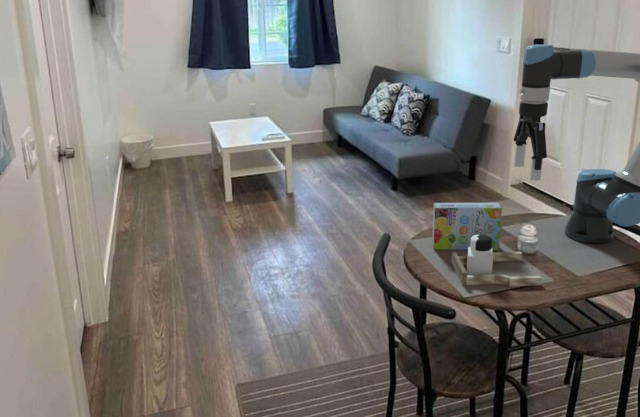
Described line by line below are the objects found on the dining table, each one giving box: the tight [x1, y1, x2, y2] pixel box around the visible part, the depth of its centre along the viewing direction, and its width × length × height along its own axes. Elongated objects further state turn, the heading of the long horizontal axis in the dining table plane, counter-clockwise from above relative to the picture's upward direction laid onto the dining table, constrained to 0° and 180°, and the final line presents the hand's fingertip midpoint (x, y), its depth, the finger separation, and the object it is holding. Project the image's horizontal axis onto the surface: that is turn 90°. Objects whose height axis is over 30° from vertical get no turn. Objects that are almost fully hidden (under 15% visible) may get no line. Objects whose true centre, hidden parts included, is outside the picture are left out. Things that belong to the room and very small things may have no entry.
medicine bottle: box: [466, 234, 494, 275], centre depth 169 cm, size 7×7×12 cm
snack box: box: [431, 202, 503, 251], centre depth 186 cm, size 21×6×15 cm, turn 84°
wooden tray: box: [450, 251, 543, 287], centre depth 170 cm, size 22×17×4 cm
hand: (526, 173), depth 168 cm, fingers open, 13 cm apart
